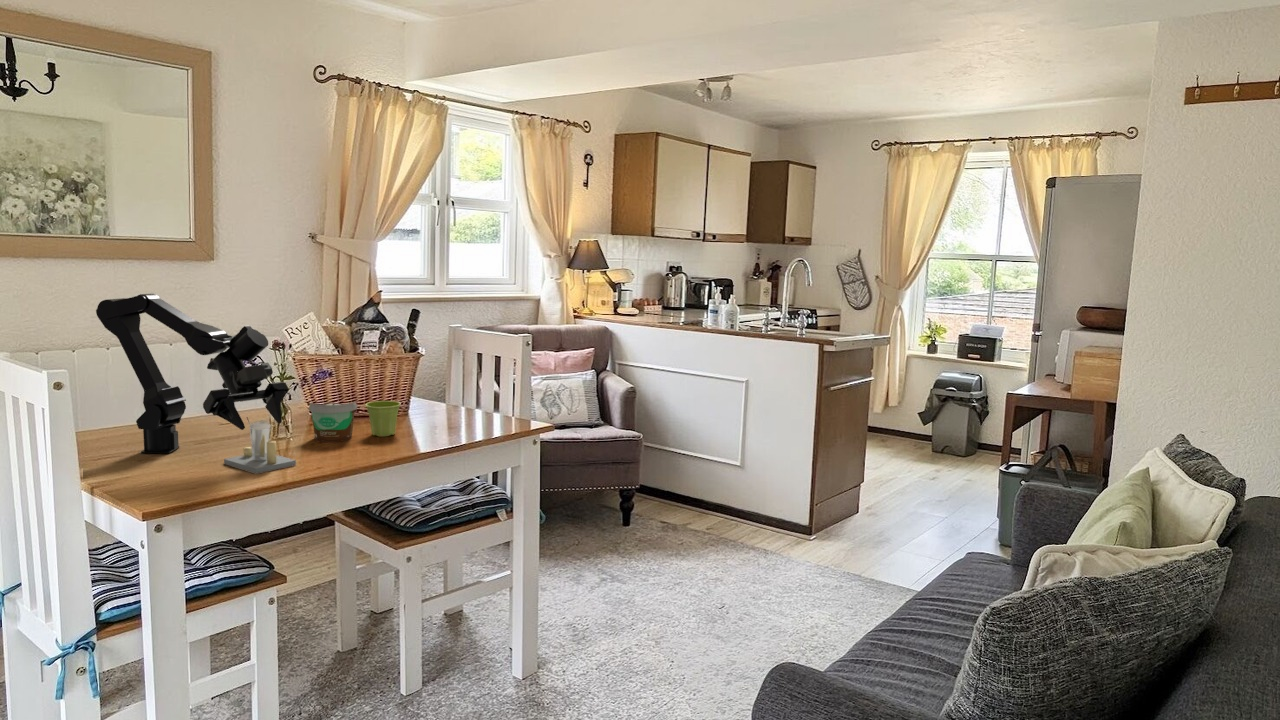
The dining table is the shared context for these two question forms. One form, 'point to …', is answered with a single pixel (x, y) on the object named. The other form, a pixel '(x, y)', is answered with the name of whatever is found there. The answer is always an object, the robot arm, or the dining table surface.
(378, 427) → the plant pot
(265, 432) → the milkshake
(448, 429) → the dining table surface
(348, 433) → the food container
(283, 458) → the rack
